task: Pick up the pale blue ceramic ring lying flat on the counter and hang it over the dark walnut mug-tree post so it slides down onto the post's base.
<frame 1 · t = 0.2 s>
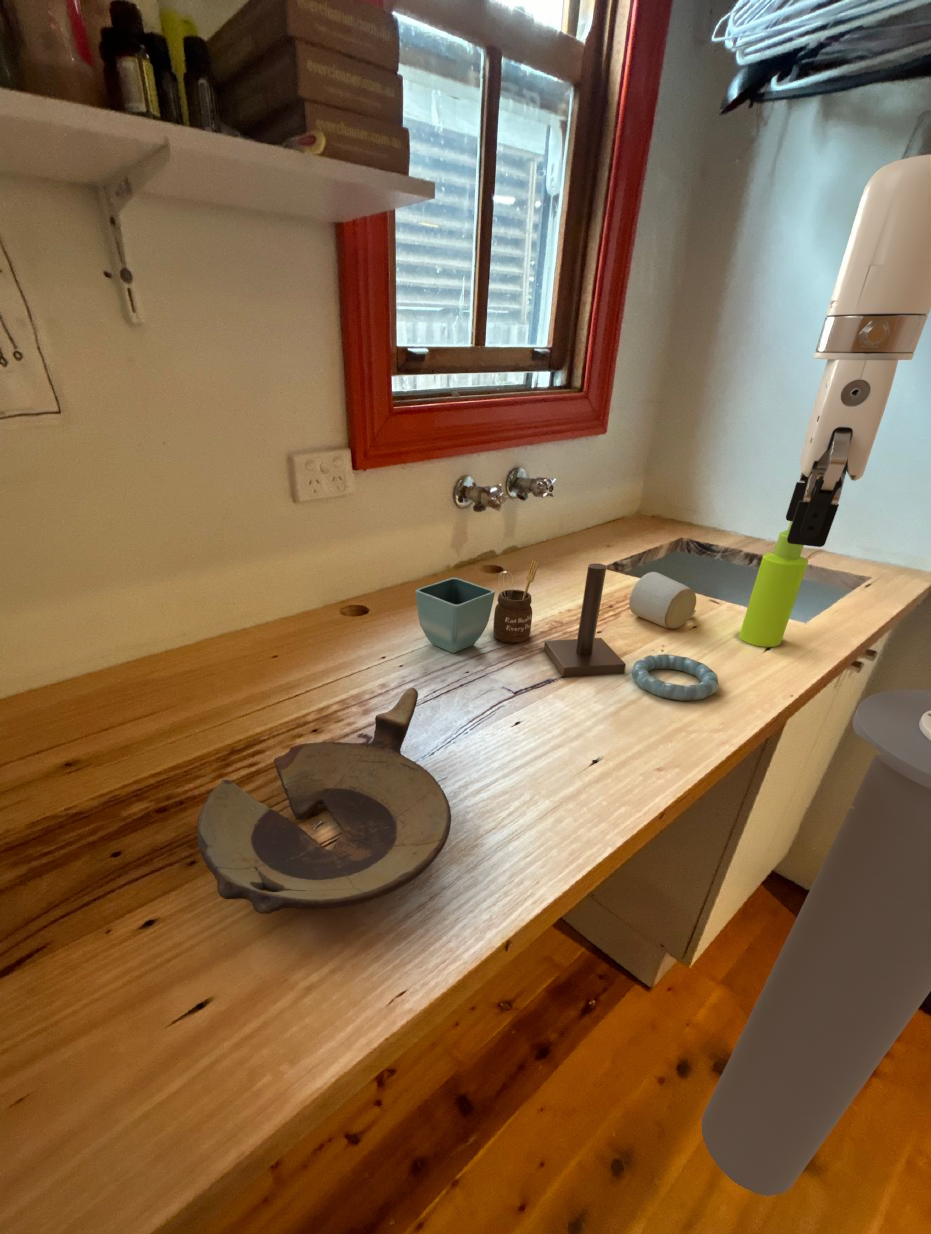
hand: (802, 532, 63), 24 cm above the worktop, tool pointing down, fingers open, 9 cm apart
oil lamp: (353, 832, 59), on the worktop
soap dispenser: (761, 639, 97), on the worktop
ceramic mug: (662, 621, 103), on the worktop
flower pot: (453, 645, 96), on the worktop
ring: (674, 676, 84), point 1 cm above the worktop
utensil holder: (511, 637, 98), on the worktop
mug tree: (582, 661, 90), on the worktop
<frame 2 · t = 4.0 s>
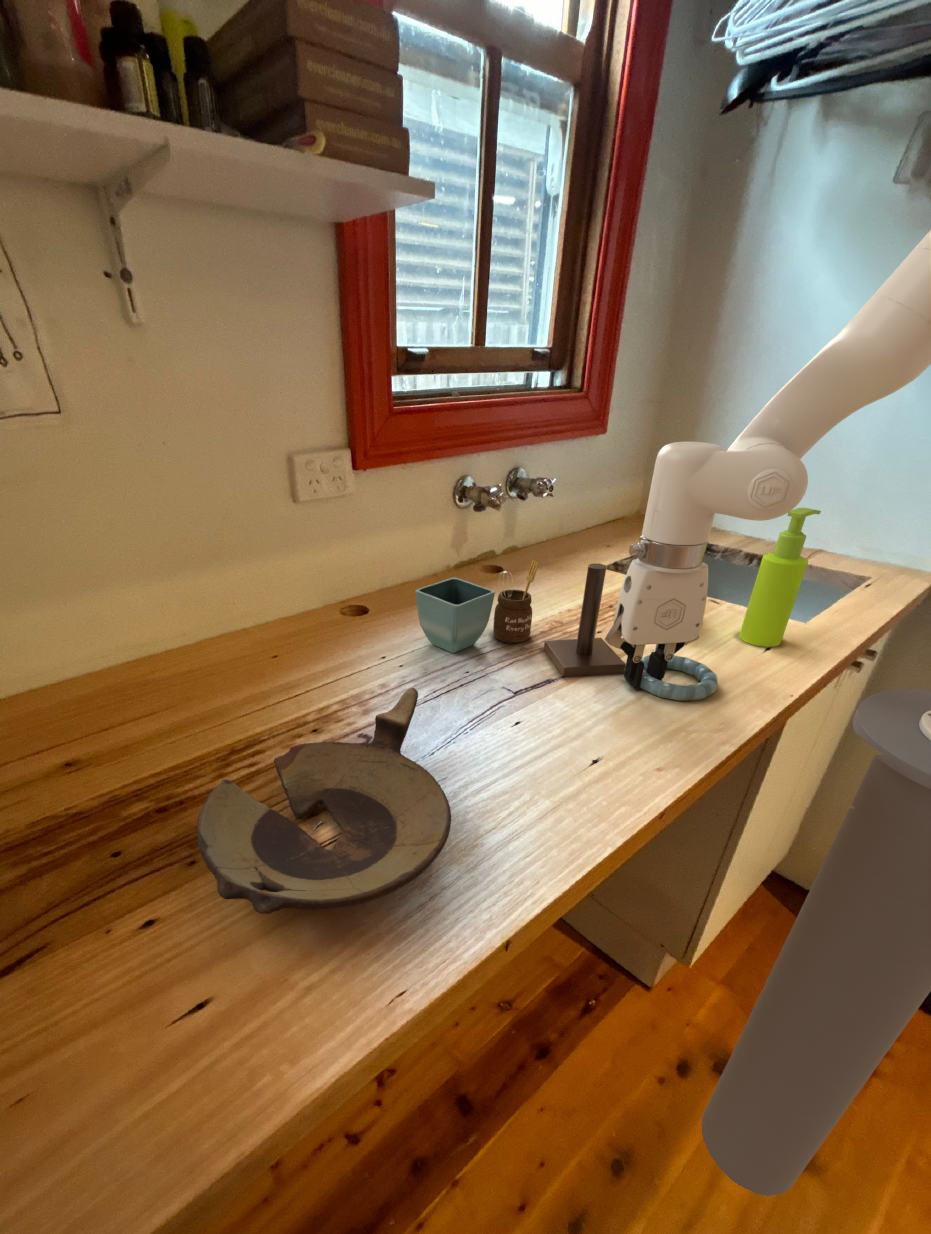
hand: (642, 682, 84), 0 cm above the worktop, tool pointing down, fingers closed on ring, 2 cm apart
ring: (673, 676, 84), point 1 cm above the worktop, touching gripper
everything else where it was.
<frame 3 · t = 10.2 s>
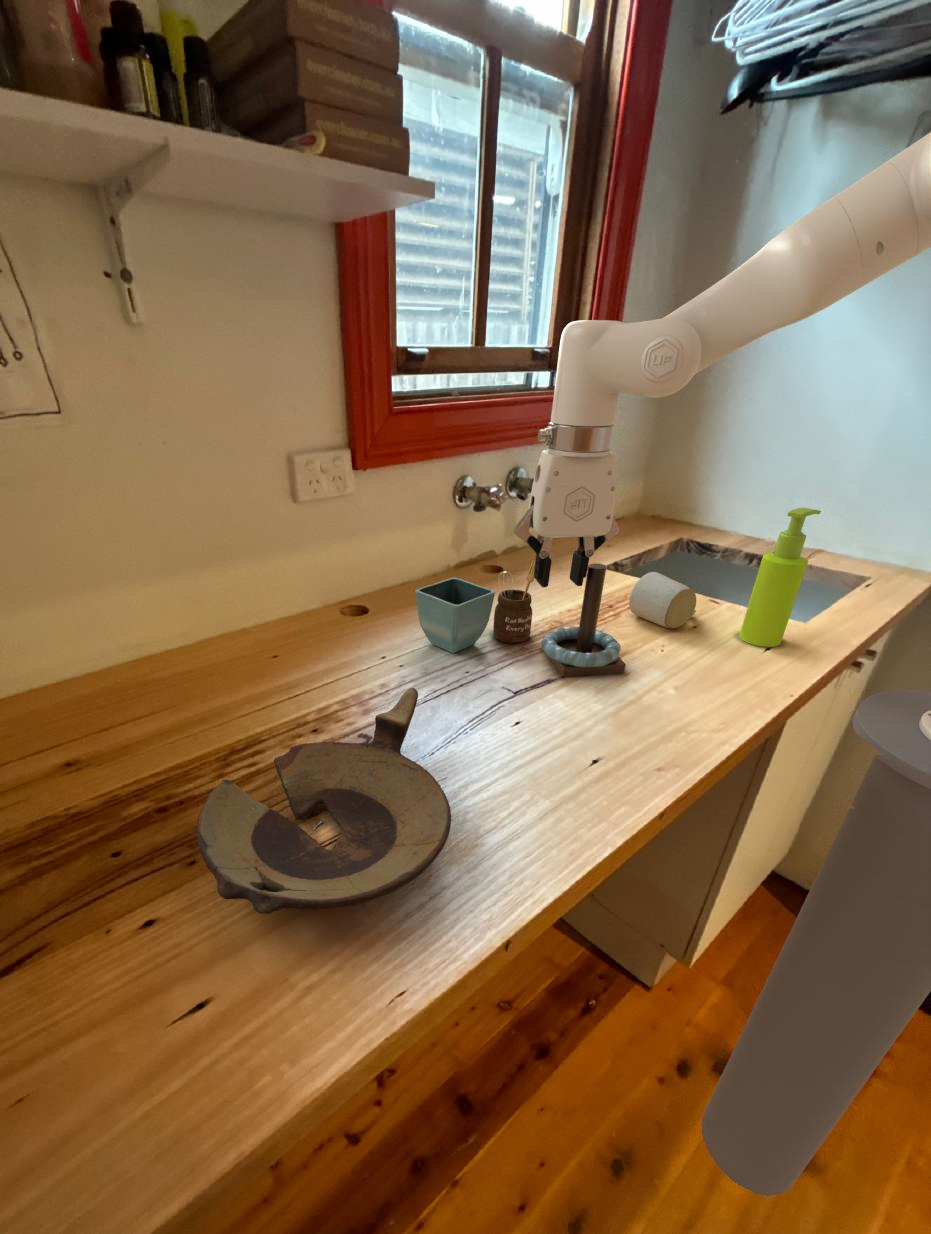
hand: (558, 582, 83), 12 cm above the worktop, tool pointing down, fingers open, 4 cm apart
ring: (580, 646, 89), point 3 cm above the worktop, touching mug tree
everything else where it was.
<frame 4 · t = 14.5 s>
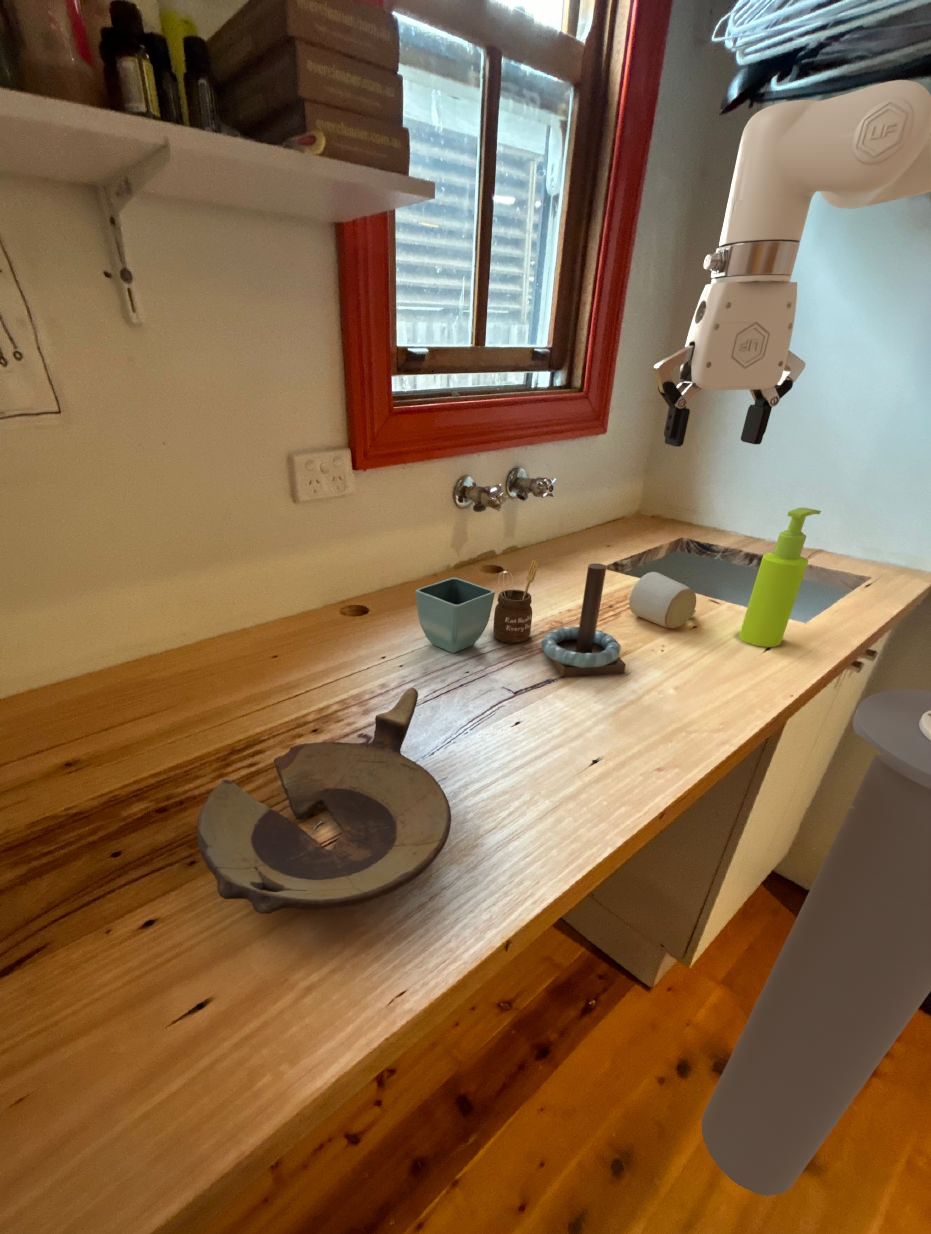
hand: (711, 443, 72), 30 cm above the worktop, tool pointing down, fingers open, 9 cm apart
nothing on the worktop moved.
at the end: ring 0.7 cm off-centre on the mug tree, point 2.5 cm above the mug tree's base; the gripper is holding nothing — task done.
